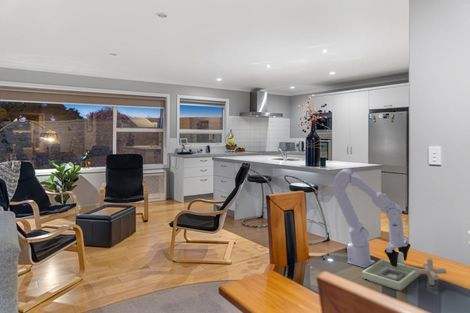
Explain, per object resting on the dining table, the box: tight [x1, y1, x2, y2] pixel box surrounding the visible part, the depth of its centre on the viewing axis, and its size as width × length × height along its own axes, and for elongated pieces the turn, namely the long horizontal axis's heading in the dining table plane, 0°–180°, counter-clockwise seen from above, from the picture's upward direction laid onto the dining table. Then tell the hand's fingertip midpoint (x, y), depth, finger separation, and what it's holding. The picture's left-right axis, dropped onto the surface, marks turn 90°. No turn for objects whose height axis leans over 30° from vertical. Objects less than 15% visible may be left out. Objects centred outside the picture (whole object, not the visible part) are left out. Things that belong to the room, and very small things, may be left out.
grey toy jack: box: [416, 257, 447, 286], centre depth 124 cm, size 10×10×10 cm
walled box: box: [361, 258, 421, 292], centre depth 133 cm, size 16×16×3 cm
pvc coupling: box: [397, 251, 405, 265], centre depth 141 cm, size 4×4×6 cm
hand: (399, 263), depth 141 cm, fingers open, 7 cm apart
